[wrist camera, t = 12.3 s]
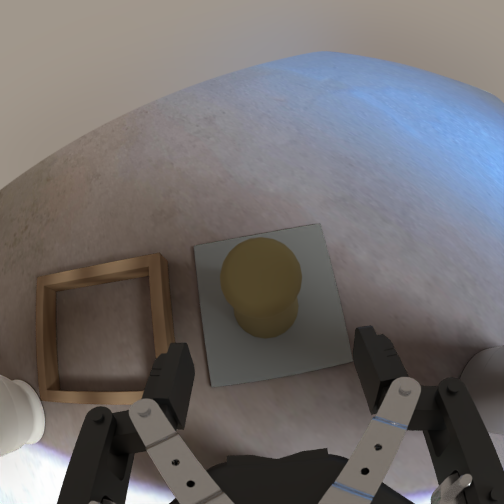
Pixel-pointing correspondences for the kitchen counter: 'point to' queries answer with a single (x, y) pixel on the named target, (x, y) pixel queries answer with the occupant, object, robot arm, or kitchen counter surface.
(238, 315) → the olive pawn figure
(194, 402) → the kitchen counter surface
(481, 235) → the kitchen counter surface
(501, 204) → the kitchen counter surface
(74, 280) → the frame
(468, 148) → the kitchen counter surface
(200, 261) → the mat
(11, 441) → the jar
